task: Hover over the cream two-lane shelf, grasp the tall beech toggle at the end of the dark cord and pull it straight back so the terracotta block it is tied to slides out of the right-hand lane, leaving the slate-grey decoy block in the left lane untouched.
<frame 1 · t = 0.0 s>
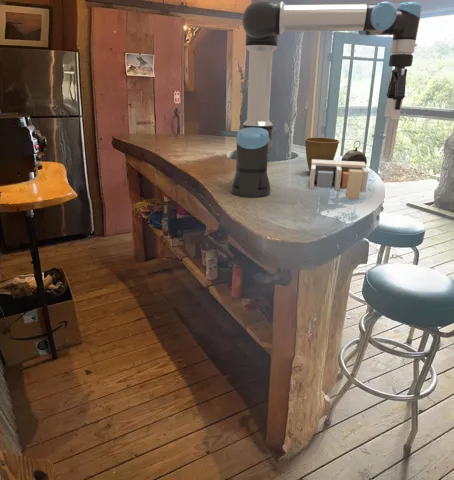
hand: (391, 118, 147), 28 cm above the countertop, fingers open, 13 cm apart
slate block: (323, 185, 166), resting in shelf lanes
shelf lanes: (336, 186, 165), on the countertop
corded block: (348, 187, 165), on the countertop
alarm clock: (352, 177, 181), on the countertop
plant pot: (318, 175, 185), on the countertop
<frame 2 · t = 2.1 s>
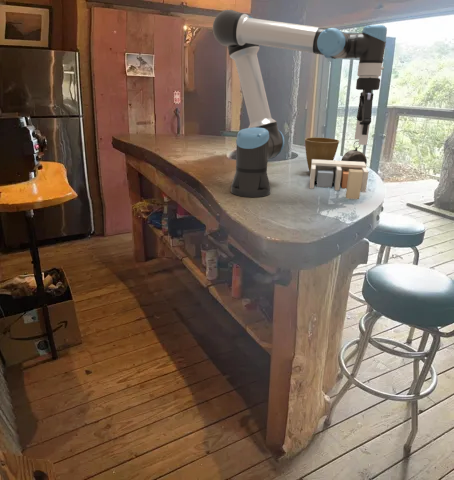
hand: (360, 142, 142), 20 cm above the countertop, fingers open, 13 cm apart
nothing on the countertop moved.
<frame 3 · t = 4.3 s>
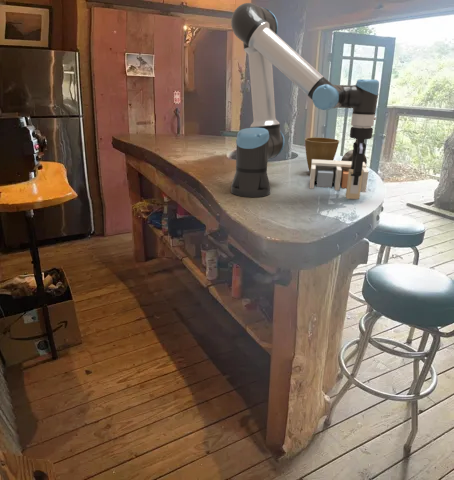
hand: (353, 191, 149), 2 cm above the countertop, fingers closed on corded block, 4 cm apart
corded block: (348, 187, 165), on the countertop, touching gripper
everything else where it was.
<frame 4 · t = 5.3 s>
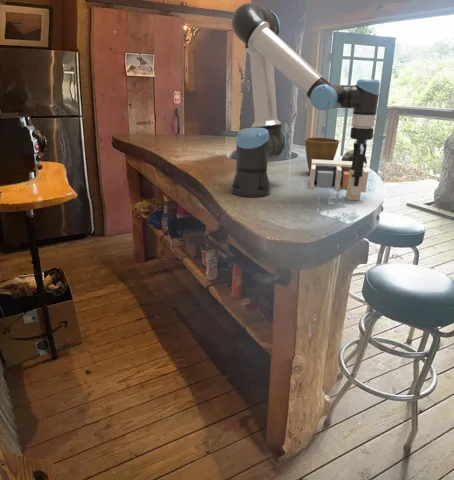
hand: (353, 192, 148), 2 cm above the countertop, fingers closed on corded block, 5 cm apart
corded block: (349, 187, 163), on the countertop, touching gripper
everything else where it was.
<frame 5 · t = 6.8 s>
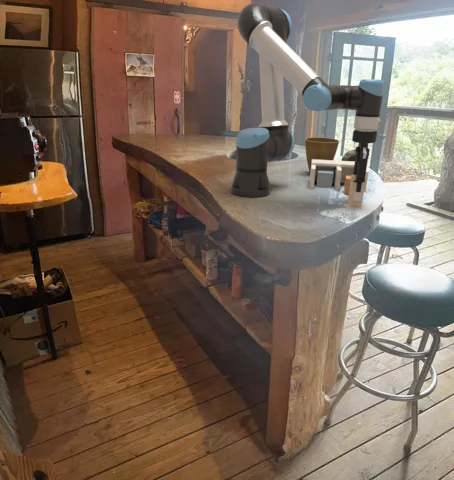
hand: (355, 198, 140), 2 cm above the countertop, fingers closed on corded block, 5 cm apart
corded block: (352, 192, 156), on the countertop, touching gripper
everything else where it was.
when the fingers open (2 cm above the countertop, at t = 7.9 s): corded block stays where it is, on the countertop.
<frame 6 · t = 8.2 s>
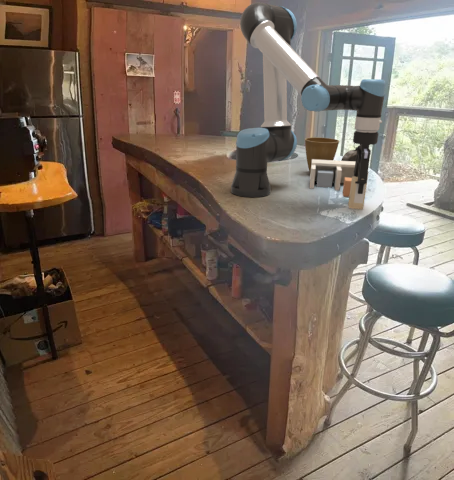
hand: (356, 198, 137), 3 cm above the countertop, fingers open, 9 cm apart
corded block: (351, 195, 153), on the countertop
everything else where it was.
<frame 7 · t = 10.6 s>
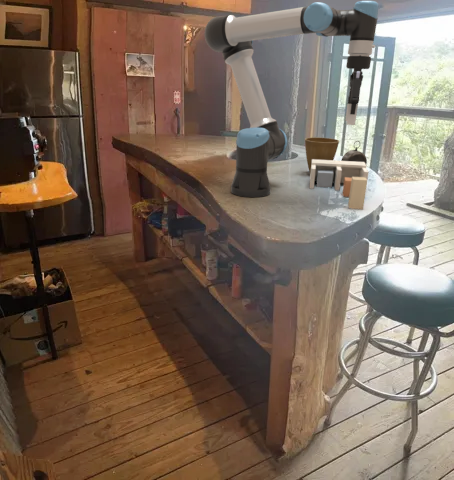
hand: (349, 122, 140), 27 cm above the countertop, fingers open, 13 cm apart
nothing on the countertop moved.
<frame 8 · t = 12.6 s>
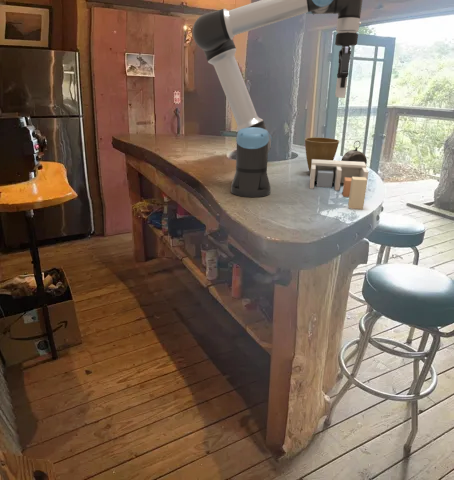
hand: (339, 97, 149), 35 cm above the countertop, fingers open, 13 cm apart
nothing on the countertop moved.
at the end: corded block inside the target area (3.5 cm from its centre), on the countertop; corded block moved 12.8 cm from its start; the gripper is holding nothing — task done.
